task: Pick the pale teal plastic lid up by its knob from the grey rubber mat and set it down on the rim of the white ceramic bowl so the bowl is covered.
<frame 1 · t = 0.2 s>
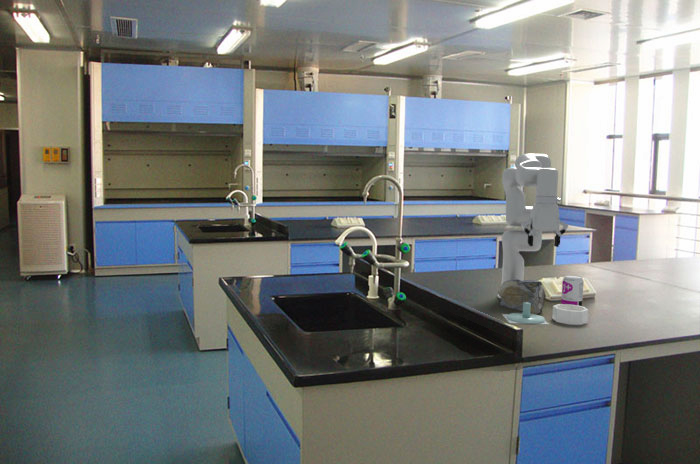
hand: (543, 246, 220), 30 cm above the countertop, tool pointing down, fingers open, 9 cm apart
mat: (524, 319, 228), on the countertop
supplement can: (571, 312, 243), on the countertop
bowl: (569, 321, 227), on the countertop
lid: (526, 319, 228), resting on mat
fossil rock: (520, 309, 247), on the countertop
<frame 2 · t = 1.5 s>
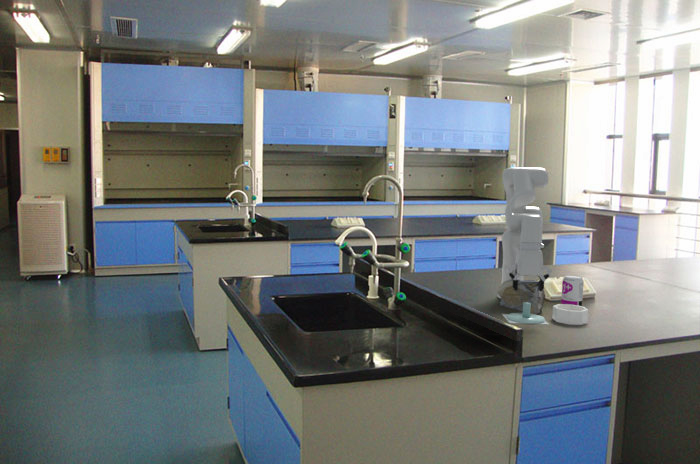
hand: (527, 290, 226), 12 cm above the countertop, tool pointing down, fingers open, 9 cm apart
nothing on the countertop moved.
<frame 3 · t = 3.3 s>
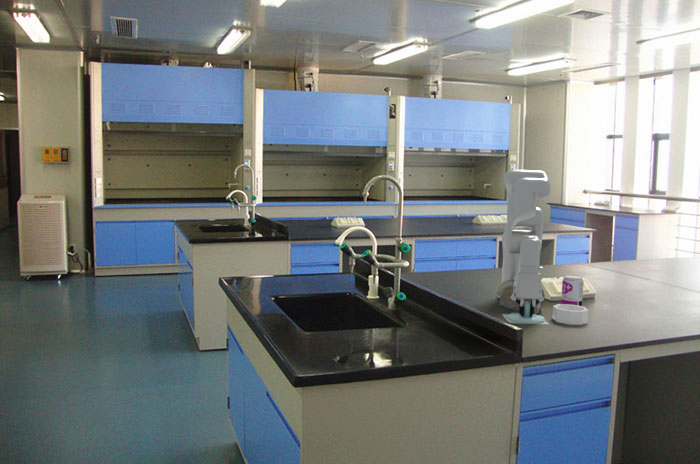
hand: (526, 315, 228), 2 cm above the countertop, tool pointing down, fingers closed on lid, 2 cm apart
lid: (526, 319, 228), resting on mat, touching gripper
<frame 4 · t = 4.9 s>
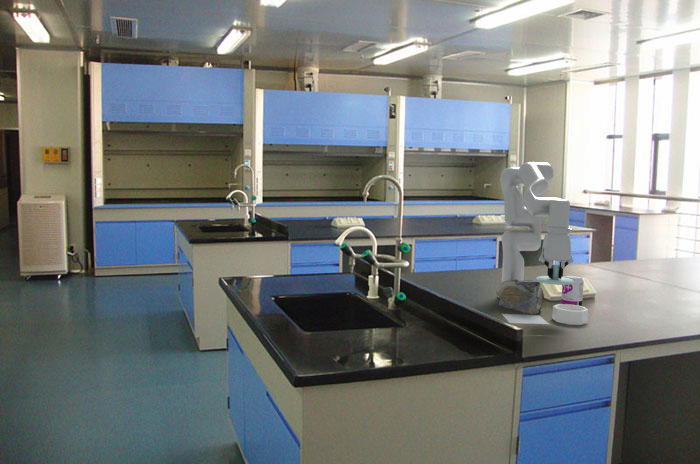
hand: (554, 277, 226), 17 cm above the countertop, tool pointing down, fingers closed on lid, 2 cm apart
lid: (554, 281, 226), point 16 cm above the countertop, touching gripper
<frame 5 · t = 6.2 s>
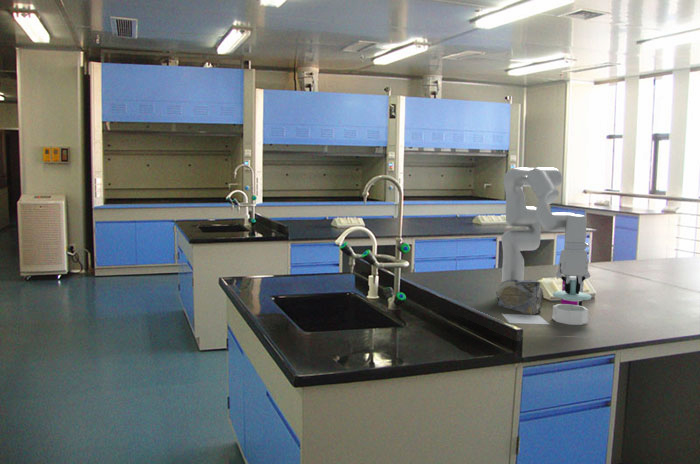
hand: (572, 292, 226), 11 cm above the countertop, tool pointing down, fingers closed on lid, 2 cm apart
lid: (571, 296, 226), point 10 cm above the countertop, touching gripper
when the fingers open (8 cm above the countertop, at t = 6.9 s): lid drops 1 cm, resting on bowl.
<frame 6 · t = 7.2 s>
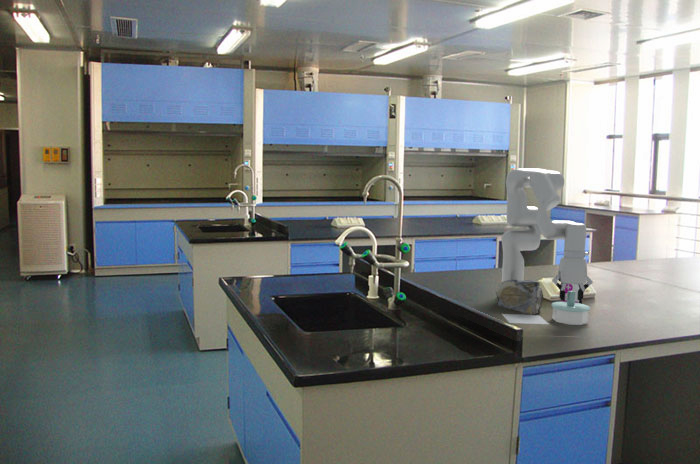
hand: (571, 300, 226), 9 cm above the countertop, tool pointing down, fingers open, 6 cm apart
lid: (570, 307, 227), point 5 cm above the countertop, touching bowl
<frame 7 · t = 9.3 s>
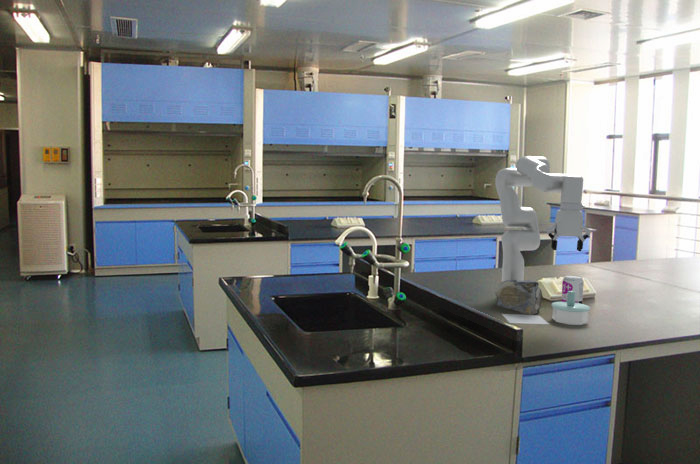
hand: (566, 250, 229), 27 cm above the countertop, tool pointing down, fingers open, 9 cm apart
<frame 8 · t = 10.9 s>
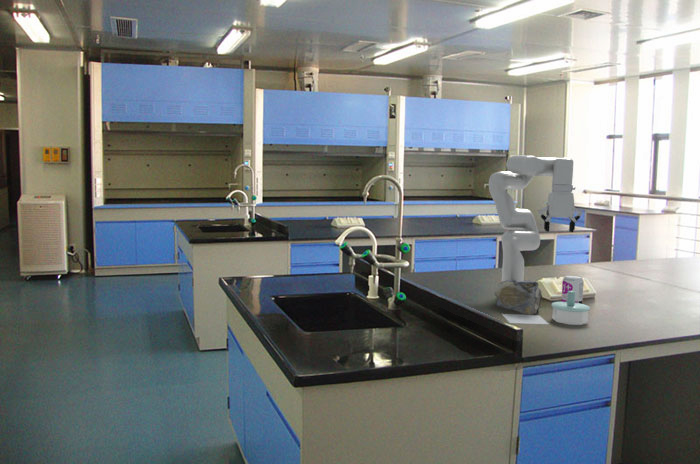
hand: (559, 231, 234), 34 cm above the countertop, tool pointing down, fingers open, 9 cm apart
at the end: lid 0.0 cm off-centre on the bowl, point 5.5 cm above the bowl's base; lid tilted 0°; the gripper is holding nothing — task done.
